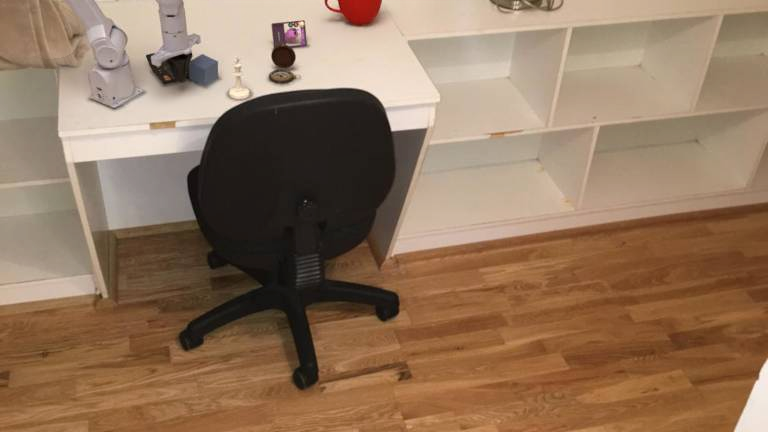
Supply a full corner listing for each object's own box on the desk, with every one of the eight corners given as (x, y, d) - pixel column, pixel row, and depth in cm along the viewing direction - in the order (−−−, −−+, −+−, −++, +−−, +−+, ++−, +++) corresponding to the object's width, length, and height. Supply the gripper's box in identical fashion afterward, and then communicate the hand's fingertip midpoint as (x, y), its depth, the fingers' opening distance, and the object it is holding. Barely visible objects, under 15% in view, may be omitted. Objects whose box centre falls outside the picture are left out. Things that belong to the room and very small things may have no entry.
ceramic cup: (317, 15, 227) (317, -18, 221) (371, 8, 233) (373, -24, 227) (332, 35, 218) (332, 1, 212) (388, 27, 224) (390, -6, 218)
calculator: (164, 85, 193) (162, 74, 191) (147, 64, 200) (145, 54, 198) (200, 76, 197) (199, 65, 195) (182, 56, 204) (180, 46, 202)
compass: (267, 83, 196) (266, 57, 191) (272, 68, 202) (271, 42, 198) (299, 86, 196) (298, 60, 191) (303, 70, 202) (303, 45, 197)
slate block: (204, 86, 193) (204, 69, 190) (189, 79, 195) (188, 61, 191) (218, 78, 197) (218, 61, 193) (202, 70, 198) (202, 53, 195)
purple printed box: (272, 23, 207) (305, 20, 209) (268, 21, 211) (300, 18, 214) (274, 49, 209) (307, 46, 212) (270, 47, 214) (303, 43, 216)
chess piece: (224, 94, 191) (221, 57, 185) (238, 86, 194) (236, 50, 188) (240, 101, 189) (237, 64, 183) (254, 93, 192) (251, 56, 186)
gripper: (164, 45, 173) (172, 98, 182) (208, 21, 183) (213, 73, 192) (141, 36, 176) (149, 89, 184) (185, 13, 186) (191, 65, 194)
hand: (180, 80), depth 188 cm, fingers closed
